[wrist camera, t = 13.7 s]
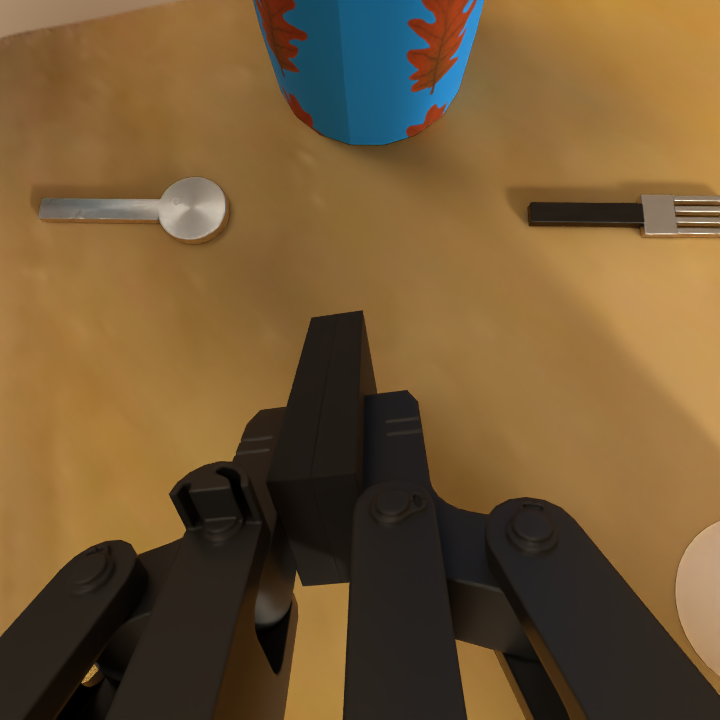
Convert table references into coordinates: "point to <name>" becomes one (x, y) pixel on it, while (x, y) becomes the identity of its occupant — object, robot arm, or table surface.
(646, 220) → the fork
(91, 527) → the table surface
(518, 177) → the table surface
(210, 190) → the metal disc paddle
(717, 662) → the cylindrical container
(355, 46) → the thermos
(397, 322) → the table surface
